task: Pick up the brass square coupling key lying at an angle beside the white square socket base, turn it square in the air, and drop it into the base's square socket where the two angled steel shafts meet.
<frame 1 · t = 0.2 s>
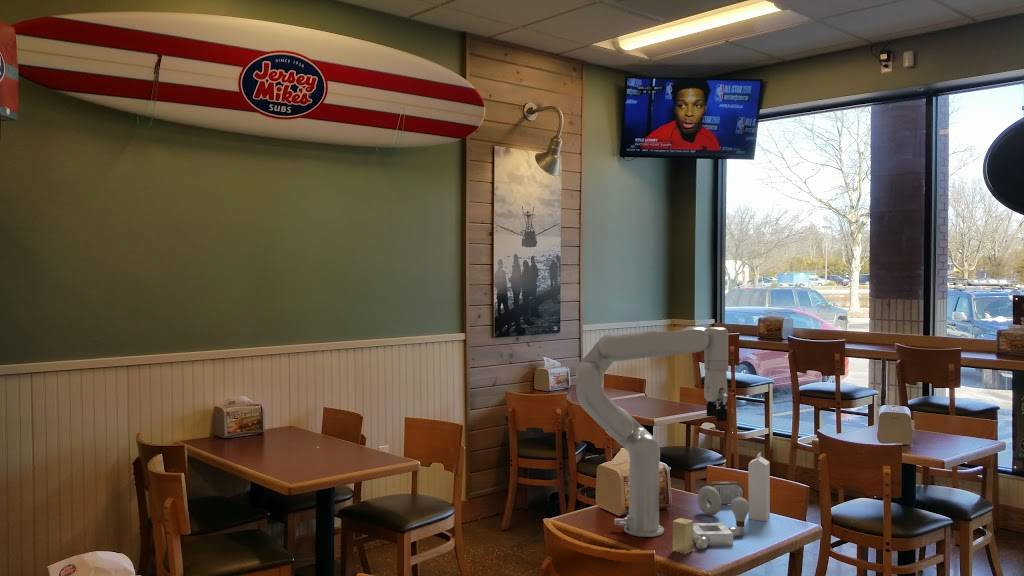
hand: (716, 418, 256), 36 cm above the table, tool pointing down, fingers open, 9 cm apart
donut: (709, 515, 274), on the table
coupling key: (683, 550, 237), on the table
light bulb: (740, 528, 259), on the table
milk: (759, 518, 270), on the table
shaft right: (732, 537, 250), on the table
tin: (724, 505, 287), on the table
white square socket base: (710, 539, 248), on the table
shaft left: (703, 547, 241), on the table
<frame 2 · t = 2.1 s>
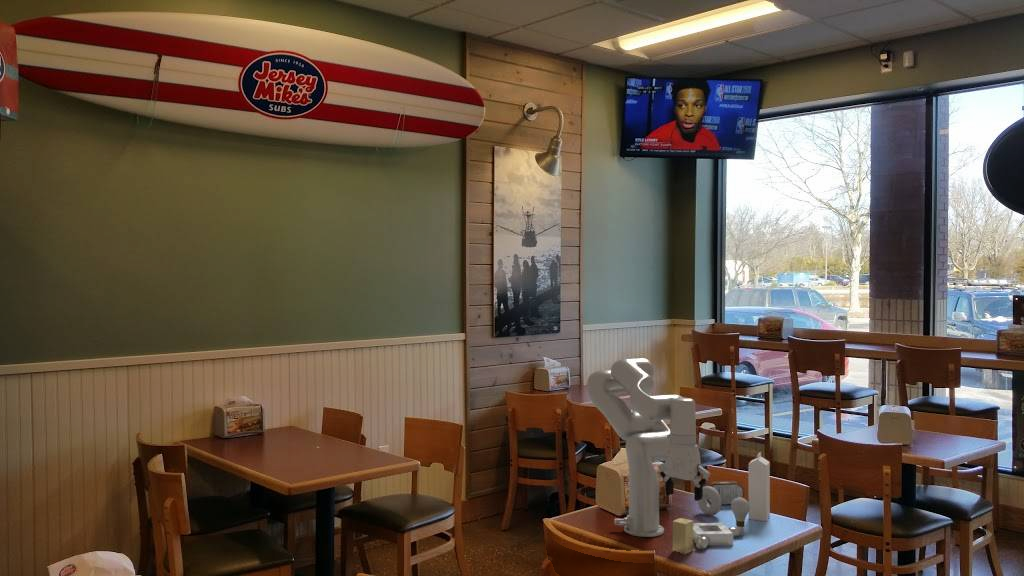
hand: (683, 497, 237), 16 cm above the table, tool pointing down, fingers open, 9 cm apart
nothing on the table moved.
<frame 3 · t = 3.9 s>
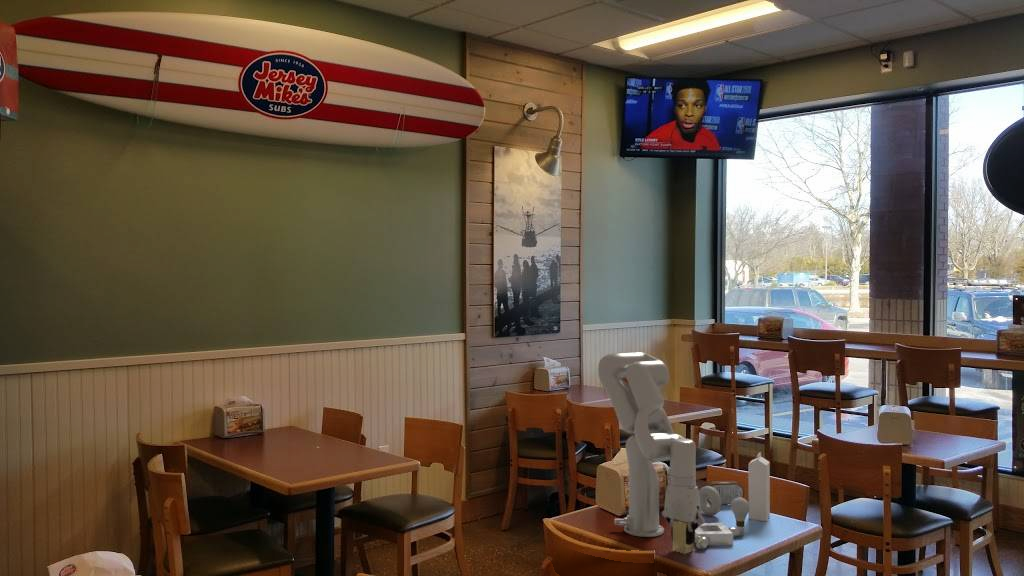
hand: (683, 541, 237), 3 cm above the table, tool pointing down, fingers closed on coupling key, 4 cm apart
coupling key: (683, 550, 237), on the table, touching gripper
everything else where it was.
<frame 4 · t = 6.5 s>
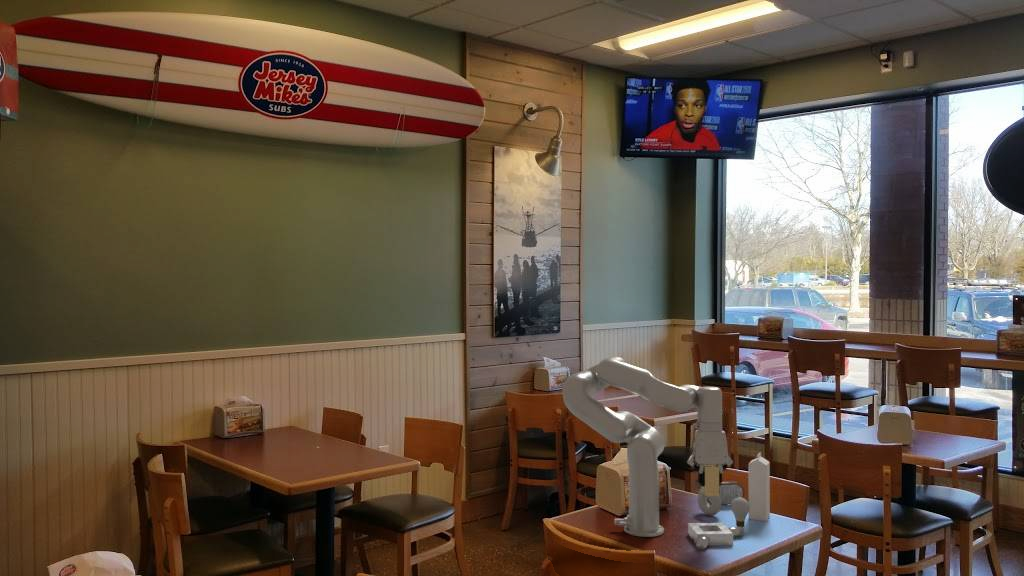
hand: (710, 484, 248), 17 cm above the table, tool pointing down, fingers closed on coupling key, 4 cm apart
coupling key: (710, 494, 248), point 14 cm above the table, touching gripper
everything else where it was.
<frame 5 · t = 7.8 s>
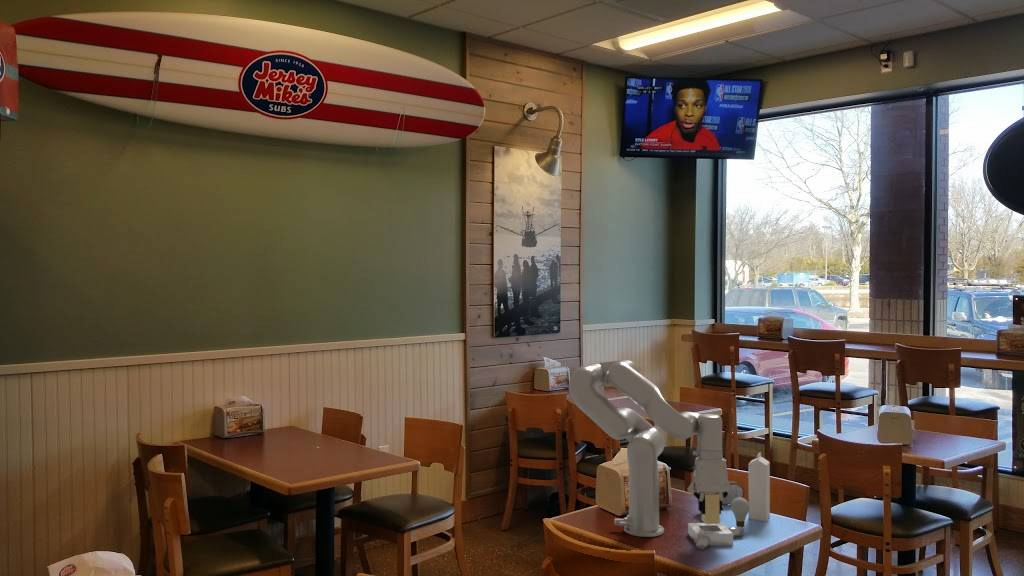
hand: (710, 512, 248), 9 cm above the table, tool pointing down, fingers closed on coupling key, 4 cm apart
coupling key: (710, 521, 248), point 6 cm above the table, touching gripper
everything else where it was.
when the fingers open (5 cm above the table, at t = 9.0 s): coupling key drops 2 cm, resting in white square socket base.
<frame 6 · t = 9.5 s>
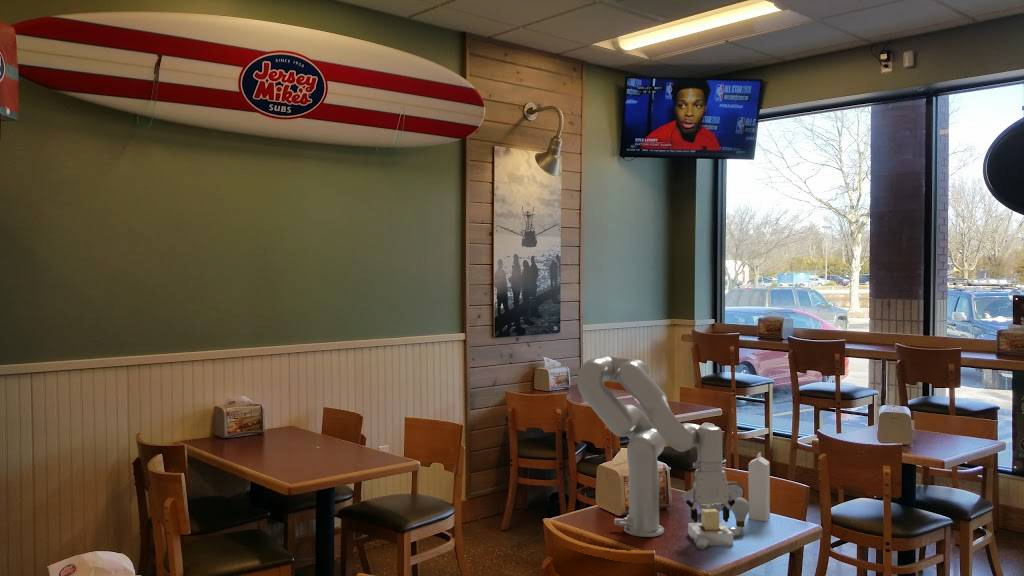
hand: (710, 521, 248), 6 cm above the table, tool pointing down, fingers open, 9 cm apart
coupling key: (710, 539, 248), resting in white square socket base
everything else where it was.
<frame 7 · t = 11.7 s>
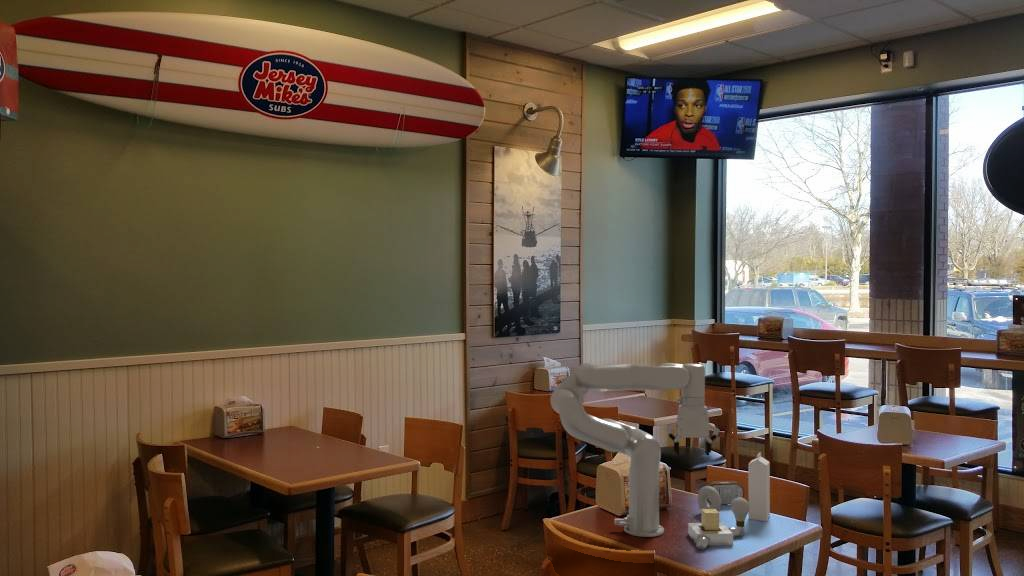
hand: (692, 454, 259), 24 cm above the table, tool pointing down, fingers open, 9 cm apart
nothing on the table moved.
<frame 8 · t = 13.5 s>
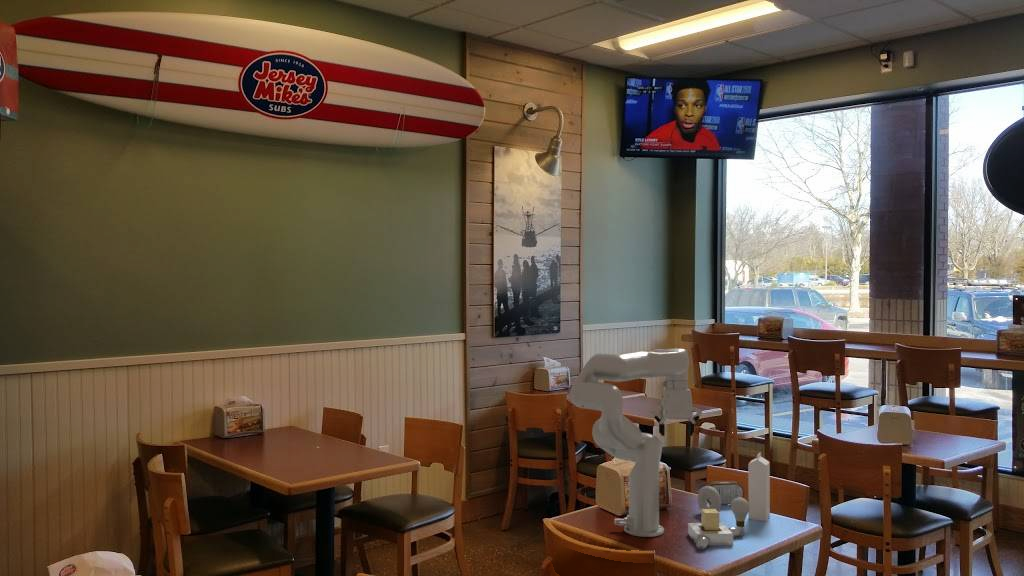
hand: (676, 435, 271), 28 cm above the table, tool pointing down, fingers open, 9 cm apart
nothing on the table moved.
at the end: coupling key 0.0 cm off-centre on the white square socket base, point 0.0 cm above the white square socket base's base; coupling key tilted 0°; the gripper is holding nothing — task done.
